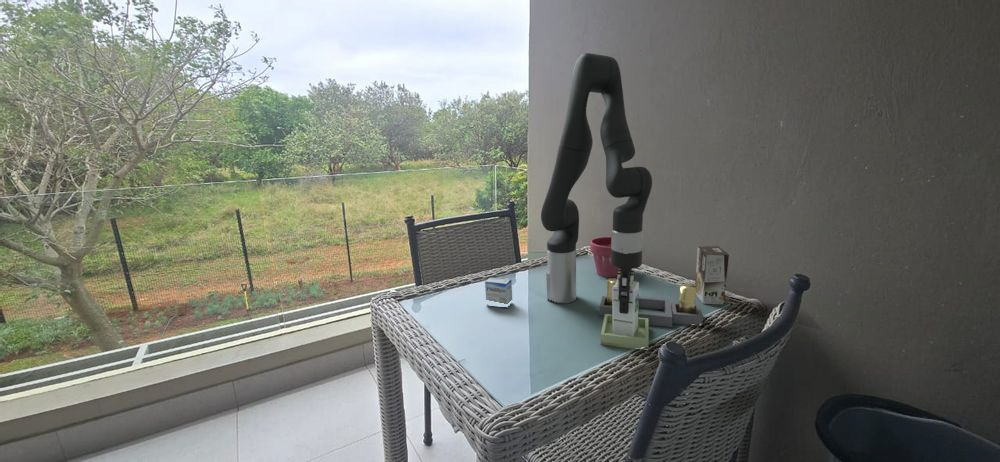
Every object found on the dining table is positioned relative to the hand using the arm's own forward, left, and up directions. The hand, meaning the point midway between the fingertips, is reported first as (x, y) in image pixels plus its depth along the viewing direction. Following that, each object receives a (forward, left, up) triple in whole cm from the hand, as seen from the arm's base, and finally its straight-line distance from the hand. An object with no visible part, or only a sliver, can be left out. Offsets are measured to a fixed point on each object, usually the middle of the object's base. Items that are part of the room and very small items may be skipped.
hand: (624, 305), depth 100 cm
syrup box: (0, 0, -8) cm, 8 cm away
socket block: (+6, +14, -9) cm, 18 cm away
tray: (0, 0, -9) cm, 9 cm away
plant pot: (-8, +46, -9) cm, 48 cm away
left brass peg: (-4, +14, -9) cm, 17 cm away
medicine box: (-40, +11, -9) cm, 42 cm away
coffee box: (+24, +30, -9) cm, 40 cm away
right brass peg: (+16, +14, -9) cm, 23 cm away
